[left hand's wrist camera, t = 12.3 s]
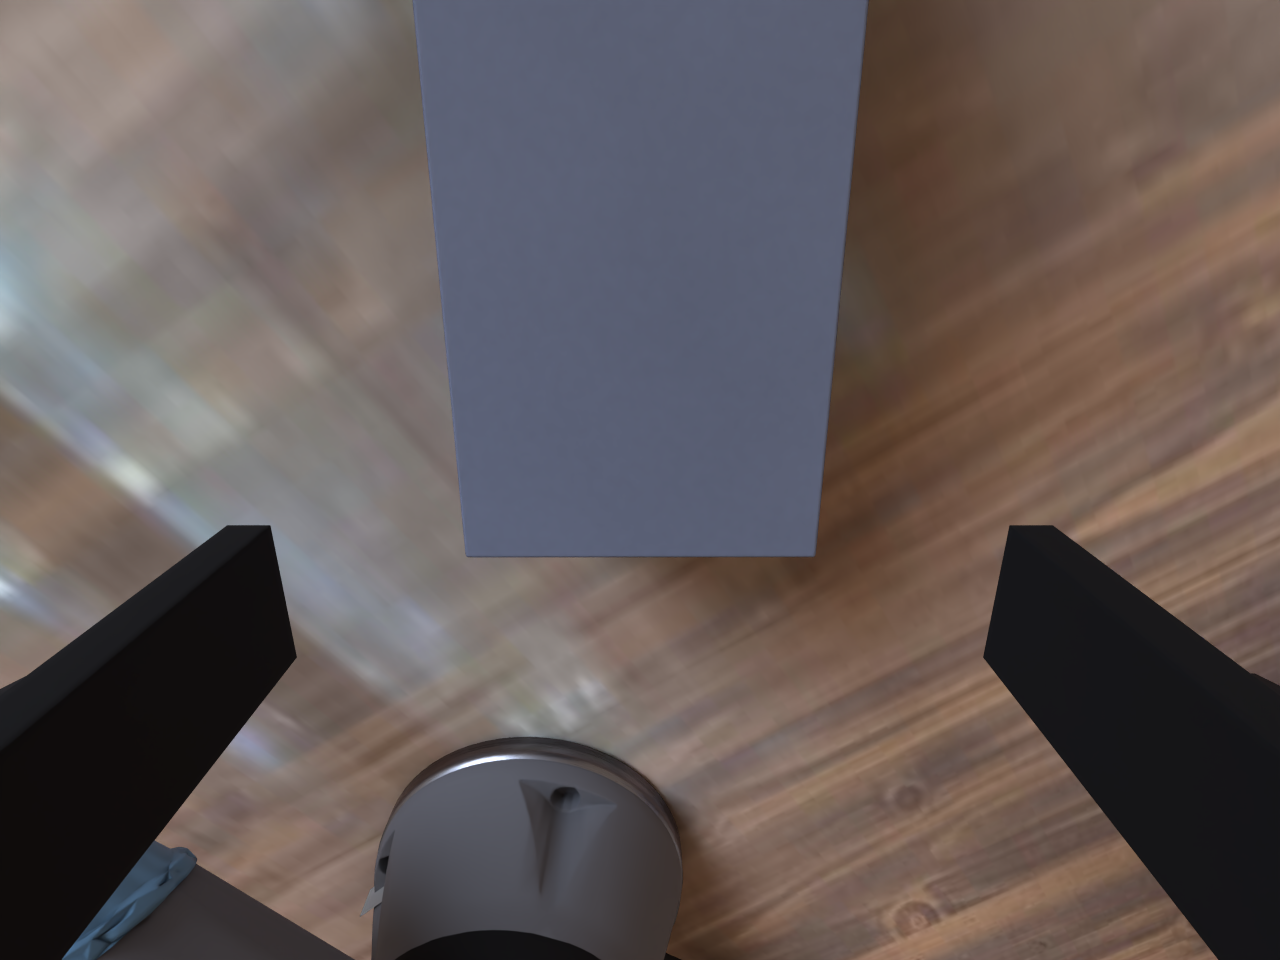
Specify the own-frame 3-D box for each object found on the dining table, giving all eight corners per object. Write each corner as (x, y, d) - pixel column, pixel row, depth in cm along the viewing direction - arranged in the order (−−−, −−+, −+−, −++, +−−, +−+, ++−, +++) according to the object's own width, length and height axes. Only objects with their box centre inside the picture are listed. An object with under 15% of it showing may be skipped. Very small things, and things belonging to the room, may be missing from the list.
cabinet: (477, -181, 22) (367, -451, 13) (802, -181, 22) (913, -451, 13) (518, 454, 29) (465, 558, 20) (762, 454, 29) (816, 558, 20)
